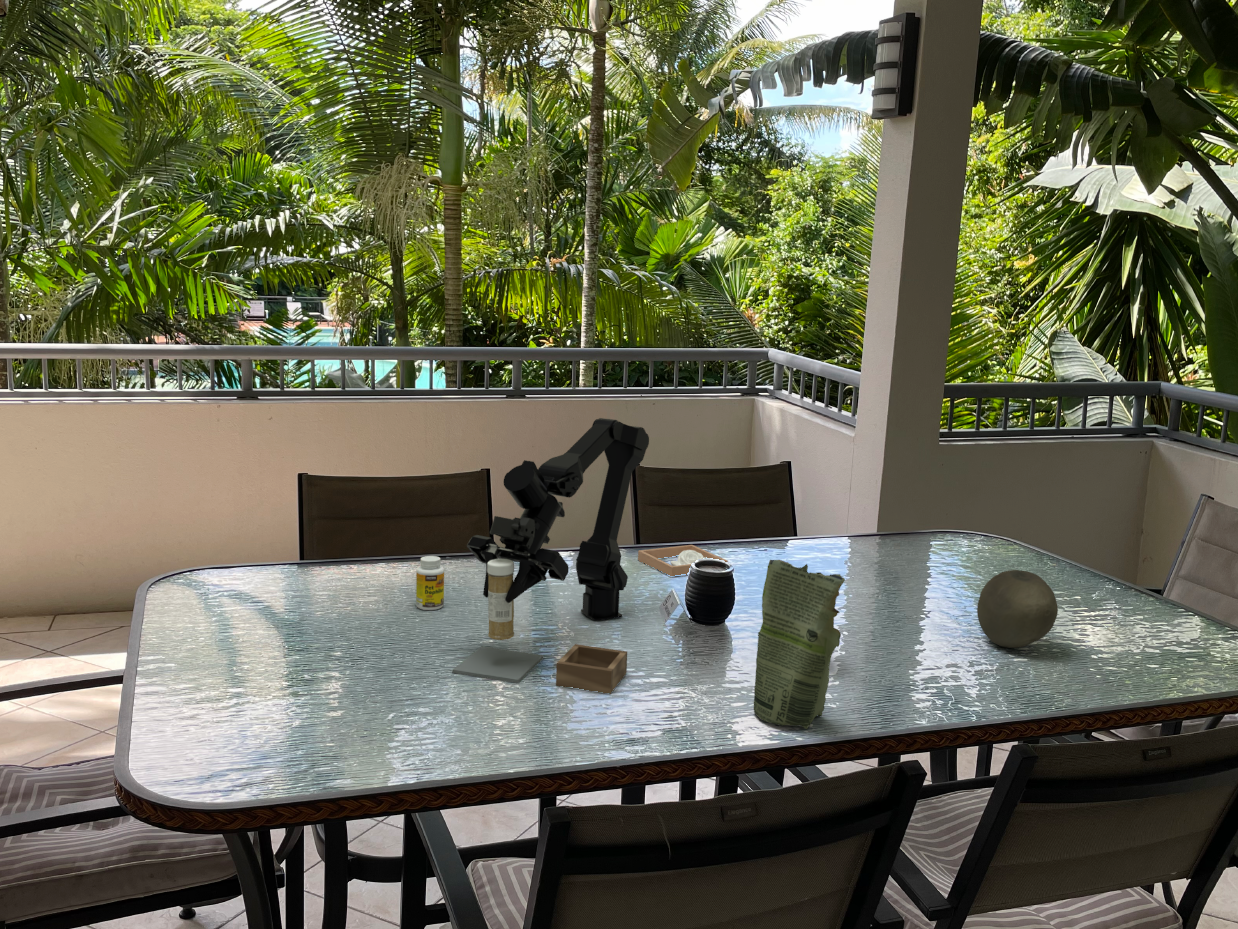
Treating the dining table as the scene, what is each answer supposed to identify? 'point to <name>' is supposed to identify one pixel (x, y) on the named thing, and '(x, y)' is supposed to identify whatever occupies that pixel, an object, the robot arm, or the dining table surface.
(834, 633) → the pouch
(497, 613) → the sprinkles bottle
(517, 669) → the grey mat
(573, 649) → the walnut sleeve
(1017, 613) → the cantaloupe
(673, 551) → the wooden square frame
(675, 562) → the rose
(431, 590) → the supplement bottle
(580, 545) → the robot arm
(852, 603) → the dining table surface
